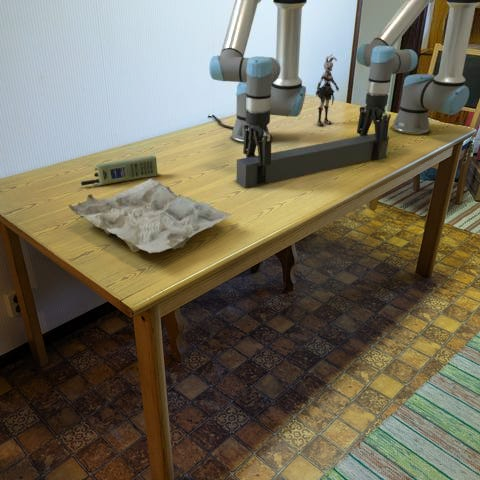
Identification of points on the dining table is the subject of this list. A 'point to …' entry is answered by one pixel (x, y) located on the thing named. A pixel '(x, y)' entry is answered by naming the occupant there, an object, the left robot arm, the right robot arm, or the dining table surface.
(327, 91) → the figurine
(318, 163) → the beam
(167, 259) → the dining table surface
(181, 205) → the grey pulp egg tray
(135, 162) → the handheld radio
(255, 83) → the left robot arm
